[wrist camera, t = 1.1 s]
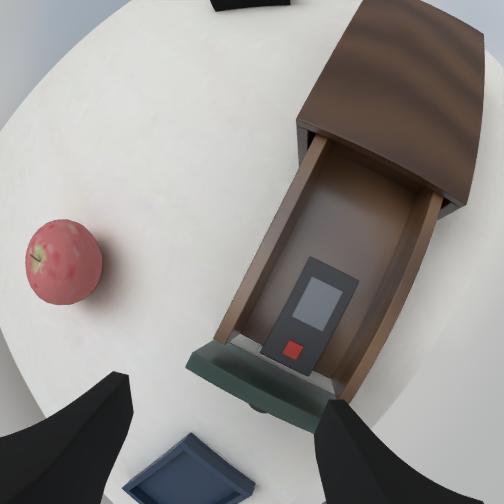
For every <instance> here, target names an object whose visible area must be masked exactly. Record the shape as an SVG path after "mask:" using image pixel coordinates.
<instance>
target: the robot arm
mask: <svg viewBox="0 0 504 504" xmlns="http://www.w3.org/2000/svg"><path fill="white" fill-rule="evenodd" d="M133 413H134V411H133V405H132V398H131V391H130V383H129V375H126V374H122V373H118V372H115V371H113V372H111V373H110V374H109V375H107V376H106V377H105V378H104V379H102V380H101V381H100V382H99V383H97V384H96V385H95V386H93V387H92V388H91V389H90V390H88V391H87V392H86V393H84V394H83V395H82V396H80V397H79V398H77V399H76V400H75V401H73V402H72V403H70V404H69V405H67V406H66V407H64V408H63V409H61V410H60V411H58V412H57V413H55V414H53V415H52V416H50V417H48V418H46V419H45V420H43V421H41V422H39V423H37V424H35V425H33V426H31V427H28V428H26V429H23V430H21V431H18V432H15V433H13V434H10V435H7V436H4V437H0V504H100V503H101V499H102V495H103V492H104V488H105V485H106V482H107V480H108V477H109V475H110V472H111V470H112V468H113V466H114V463H115V461H116V459H117V456H118V454H119V452H120V450H121V448H122V445H123V443H124V441H125V438H126V436H127V434H128V430H129V427H130V424H131V420H132V417H133ZM314 442H315V453H316V459H317V464H318V468H319V473H320V477H321V481H322V485H323V489H324V494H325V498H326V502H327V504H484V503H483V501H480V500H477V499H473V498H470V497H467V496H464V495H461V494H458V493H456V492H454V491H451V490H449V489H447V488H445V487H443V486H441V485H439V484H437V483H435V482H433V481H432V480H430V479H428V478H426V477H425V476H423V475H422V474H420V473H419V472H417V471H416V470H415V469H413V468H412V467H411V466H409V465H408V464H407V463H405V462H404V461H403V460H401V459H400V458H399V457H398V456H397V455H396V454H394V453H393V452H392V451H391V450H390V449H389V448H388V447H387V446H386V445H385V444H384V443H383V442H382V441H381V440H380V439H379V438H378V437H377V436H376V435H375V434H374V433H373V432H372V431H371V430H370V429H369V427H368V426H367V425H366V424H365V423H364V422H363V421H362V420H361V418H360V417H359V416H358V415H357V414H356V413H355V411H354V410H353V409H352V408H351V407H350V406H349V404H348V403H347V402H346V401H345V400H344V399H329V400H328V402H327V405H326V407H325V410H324V412H323V414H322V417H321V419H320V421H319V424H318V426H317V428H316V430H315V433H314Z"/></svg>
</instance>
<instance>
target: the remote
mask: <svg viewBox="0 0 504 504" xmlns="http://www.w3.org/2000/svg"><path fill="white" fill-rule="evenodd" d="M358 283H359V280H357V279H355V278H353V277H351V276H349V275H347V274H345V273H343V272H341V271H339V270H337V269H335V268H333V267H331V266H329V265H327V264H325V263H323V262H321V261H319V260H317V259H315V258H313V257H311V256H310V257H309V259H308V261H307V263H306V265H305V267H304V269H303V271H302V273H301V275H300V277H299V279H298V281H297V283H296V285H295V287H294V289H293V291H292V293H291V295H290V297H289V299H288V300H287V302H286V304H285V306H284V308H283V310H282V312H281V314H280V316H279V318H278V320H277V322H276V323H275V325H274V327H273V329H272V331H271V333H270V335H269V337H268V338H267V340H266V342H265V344H264V346H263V348H262V349H261V351H260V353H262V354H264V355H266V356H267V357H269V358H271V359H273V360H275V361H277V362H279V363H281V364H283V365H285V366H287V367H289V368H291V369H293V370H295V371H297V372H300V373H302V374H304V375H306V376H309V375H310V374H311V372H312V370H313V369H314V367H315V365H316V363H317V362H318V360H319V358H320V356H321V355H322V353H323V351H324V349H325V347H326V346H327V344H328V342H329V340H330V338H331V337H332V335H333V333H334V331H335V329H336V327H337V325H338V323H339V321H340V320H341V318H342V316H343V314H344V312H345V310H346V308H347V306H348V304H349V302H350V300H351V298H352V296H353V294H354V292H355V289H356V287H357V285H358Z"/></svg>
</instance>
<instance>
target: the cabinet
mask: <svg viewBox="0 0 504 504" xmlns="http://www.w3.org/2000/svg"><path fill="white" fill-rule="evenodd" d="M484 78H485V51H484V34H483V33H481V32H479V31H478V30H476V29H475V28H473V27H471V26H470V25H468V24H466V23H464V22H463V21H461V20H459V19H457V18H455V17H454V16H451V15H450V14H448V13H446V12H444V11H442V10H440V9H438V8H436V7H434V6H432V5H430V4H427V3H425V2H423V1H420V0H363V1H362V3H361V4H360V6H359V8H358V9H357V11H356V13H355V15H354V16H353V18H352V20H351V21H350V23H349V25H348V27H347V28H346V30H345V32H344V34H343V35H342V37H341V39H340V41H339V42H338V44H337V46H336V48H335V49H334V51H333V53H332V55H331V56H330V58H329V60H328V62H327V63H326V65H325V67H324V69H323V71H322V72H321V74H320V76H319V78H318V80H317V81H316V83H315V85H314V87H313V89H312V90H311V92H310V94H309V96H308V98H307V100H306V101H305V103H304V105H303V107H302V109H301V110H300V112H299V114H298V116H297V118H296V127H297V142H298V159H299V166H300V165H301V163H302V161H303V159H304V157H305V155H306V153H307V151H308V149H309V147H310V145H311V143H312V141H313V139H314V137H315V135H316V133H318V134H320V135H322V136H325V137H327V138H330V139H332V140H334V141H337V142H339V143H341V144H343V145H346V146H348V147H350V148H352V149H355V150H357V151H359V152H361V153H363V154H365V155H367V156H369V157H371V158H374V159H376V160H378V161H380V162H382V163H384V164H386V165H388V166H390V167H392V168H393V169H395V170H397V171H399V172H401V173H403V174H405V175H407V176H409V177H410V178H412V179H414V180H416V181H418V182H419V183H421V184H423V185H425V186H426V187H428V188H430V189H432V190H433V191H435V192H437V193H438V194H440V195H442V196H443V197H444V198H443V201H442V205H441V208H440V211H439V214H438V218H437V220H439V219H441V218H442V217H444V216H446V215H448V214H450V213H452V212H454V211H456V210H457V209H459V208H461V207H463V206H465V205H466V204H467V201H468V197H469V193H470V188H471V184H472V179H473V174H474V169H475V164H476V158H477V152H478V145H479V138H480V131H481V122H482V112H483V100H484Z"/></svg>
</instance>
